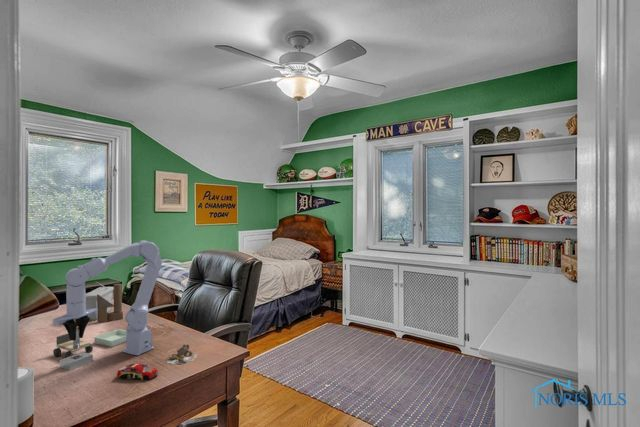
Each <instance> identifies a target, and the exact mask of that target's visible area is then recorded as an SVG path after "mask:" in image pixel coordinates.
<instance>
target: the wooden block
mask: <svg viewBox="0 0 640 427" xmlns="http://www.w3.org/2000/svg"><path fill="white" fill-rule="evenodd" d="M113 287H114V290H113V303H112V304H111V303H110V302H108V301H107V300H106V299H104V298H103V297H101V296H100V295H99V294H97V309H98V314H97V320H96V322H97V323H99V324H103V323H108V322H113V321H116V320H117V321H119V320H122V319H123V318H124V311H123V305H122V304H123V302H122V301H123V298H122V297H123V296H122V295H123V293H122V292H123V289H122V288H123V285H122V283H114V284H113ZM109 307H112V308H113V311H112V312H111V311H109V312H107V308H109Z"/></svg>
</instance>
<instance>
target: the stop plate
mask: <svg viewBox="0 0 640 427" xmlns="http://www.w3.org/2000/svg"><path fill="white" fill-rule="evenodd" d="M72 355H73V356H70V357H67V358H65V357H64V358H61V359H60V360H59V368H61V369H64V370H67V371H72V370H74V369H76V368H79V367H82V366H84V365H87V364H90V363H92V362H94V357H93V356H94V354H92V353H90V352H86V351H82V352H81V351H80V352H78V353H75V354H72Z"/></svg>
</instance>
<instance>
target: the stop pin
mask: <svg viewBox="0 0 640 427" xmlns="http://www.w3.org/2000/svg"><path fill="white" fill-rule="evenodd" d="M80 341H81V338H80V325H77V327H76V339H75V340H74V341H73V349H78V348H80ZM78 350H79V349H78Z"/></svg>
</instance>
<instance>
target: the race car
mask: <svg viewBox="0 0 640 427" xmlns="http://www.w3.org/2000/svg"><path fill="white" fill-rule="evenodd" d="M158 371H159V370H158V369H157V368H156V367H152V366H148V364H144V363H131V364H127V365H124V366H121V367H120V368H119V369H118V370H117V373H116V377H117V378H118V379H119V380H120V379H121V380H137V381H138V380H140V381H141V380H142V381H149V380H151V379H153V378H156V377H157V376H158V374H159V372H158Z"/></svg>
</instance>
